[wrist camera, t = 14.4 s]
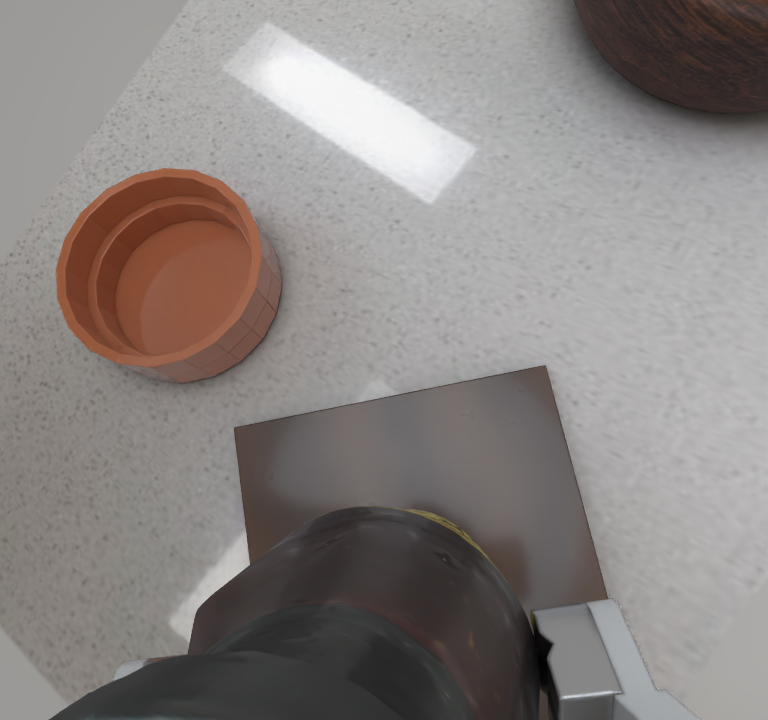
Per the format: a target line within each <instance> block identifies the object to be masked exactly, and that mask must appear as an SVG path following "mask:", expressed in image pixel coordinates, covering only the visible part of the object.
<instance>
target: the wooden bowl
mask: <svg viewBox="0 0 768 720" xmlns="http://www.w3.org/2000/svg"><path fill="white" fill-rule="evenodd" d="M574 1H575V4H576V7H577V10H578V13H579V16H580V19H581V21H582V23H583V25H584V27H585V29H586V31H587V33H588V35H589V37H590V39H591V40H592V42H593V43H594V45H595V47H596V48H597V50H598V51H599V52H600V53H601V55H602V56H603V57H604V58H605V60H606V61H607V62H608V63H609V64H610V65H611V66H612V67H613V68H614V69H615V70H616V71H618V72H619V73H620V74H621V75H622V76H623V77H625V78H626V79H628V80H629V81H630V82H632V83H633V84H635V85H636V86H638V87H639V88H641V89H643V90H645V91H646V92H648V93H650V94H652V95H654V96H657V97H659V98H661V99H663V100H666V101H669V102H671V103H674V104H677V105H680V106H684V107H688V108H691V109H696V110H701V111H707V112H715V113H729V114H744V113H758V112H765V111H768V0H574Z"/></svg>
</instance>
